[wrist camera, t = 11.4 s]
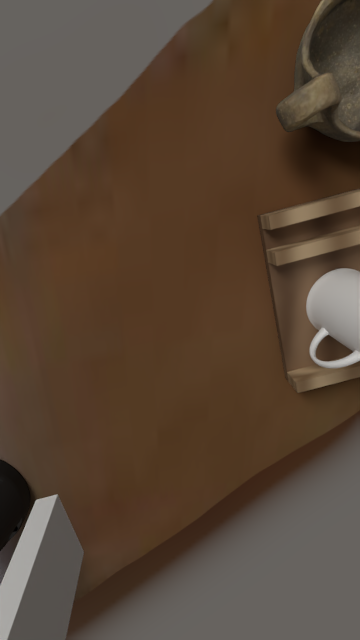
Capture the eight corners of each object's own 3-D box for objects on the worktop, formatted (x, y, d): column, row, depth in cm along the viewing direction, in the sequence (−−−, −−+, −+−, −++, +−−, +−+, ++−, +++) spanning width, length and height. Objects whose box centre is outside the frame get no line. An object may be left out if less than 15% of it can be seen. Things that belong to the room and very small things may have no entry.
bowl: (423, 105, 37) (515, 67, 28) (284, 191, 39) (325, 183, 29) (381, -33, 33) (471, -132, 24) (228, 70, 35) (254, 16, 26)
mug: (304, 360, 44) (355, 410, 33) (271, 310, 42) (314, 346, 30) (382, 308, 43) (465, 342, 31) (353, 253, 40) (430, 268, 29)
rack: (285, 377, 46) (297, 393, 42) (257, 215, 40) (268, 215, 36) (384, 351, 46) (406, 364, 42) (372, 184, 39) (397, 181, 35)
